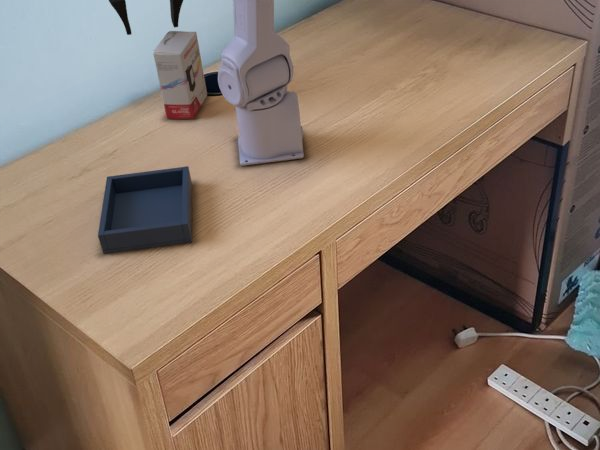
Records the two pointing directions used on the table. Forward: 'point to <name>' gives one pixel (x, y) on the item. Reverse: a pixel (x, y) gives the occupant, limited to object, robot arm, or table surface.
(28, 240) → the table surface
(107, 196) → the dark blue tray
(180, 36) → the ink box
